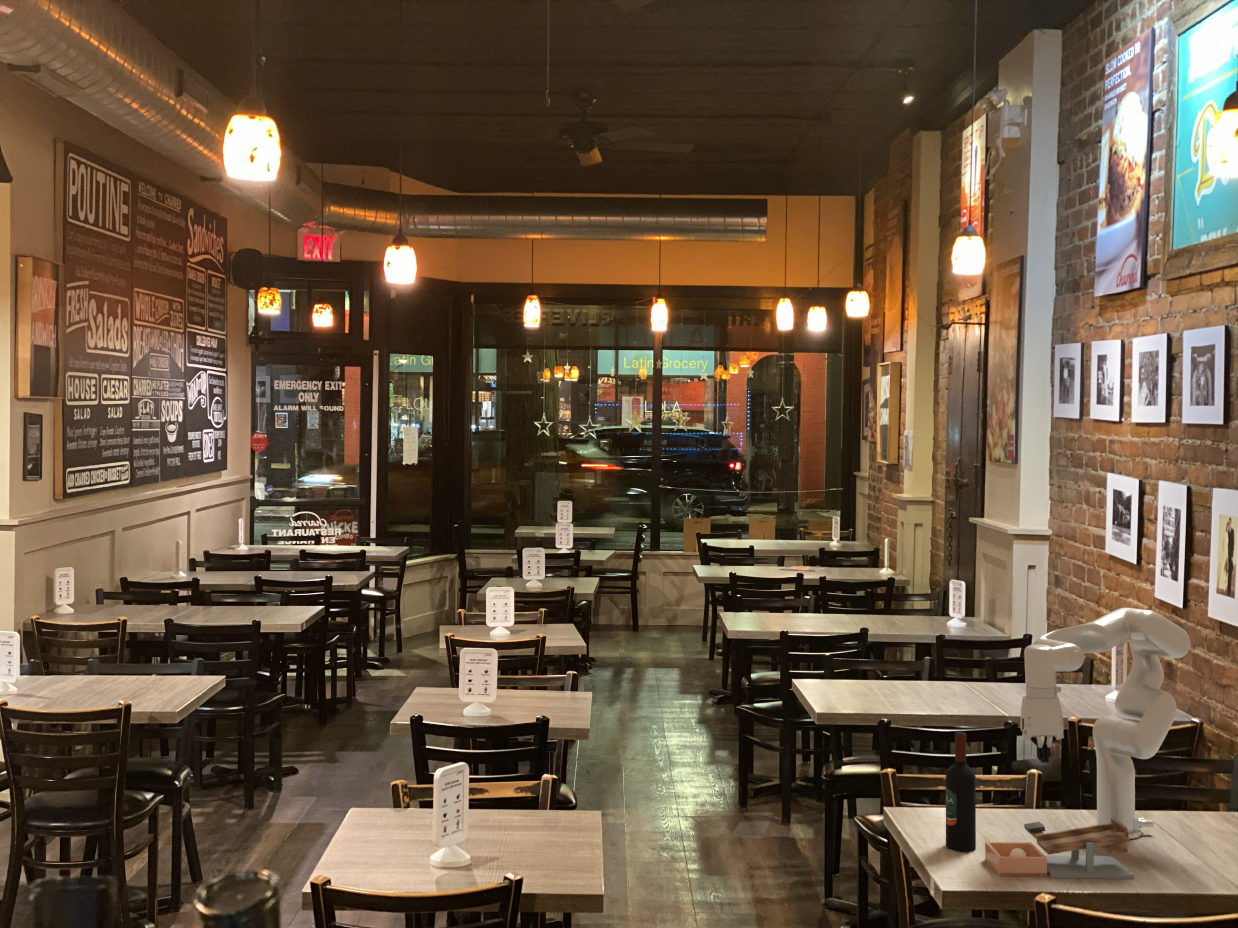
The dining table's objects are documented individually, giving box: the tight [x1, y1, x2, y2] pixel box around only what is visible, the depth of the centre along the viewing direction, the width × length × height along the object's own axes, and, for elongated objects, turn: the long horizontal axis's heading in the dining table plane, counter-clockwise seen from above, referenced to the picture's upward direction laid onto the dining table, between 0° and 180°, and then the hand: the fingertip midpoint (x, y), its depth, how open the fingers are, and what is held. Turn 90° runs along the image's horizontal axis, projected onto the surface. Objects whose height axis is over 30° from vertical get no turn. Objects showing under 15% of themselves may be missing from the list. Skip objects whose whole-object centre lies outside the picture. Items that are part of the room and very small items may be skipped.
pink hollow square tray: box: [984, 841, 1048, 878], centre depth 279 cm, size 12×12×4 cm
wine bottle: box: [945, 731, 977, 853], centre depth 294 cm, size 8×8×30 cm
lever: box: [1023, 818, 1130, 856], centre depth 283 cm, size 20×17×6 cm
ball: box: [1010, 848, 1027, 857], centre depth 279 cm, size 4×4×4 cm
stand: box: [1043, 842, 1135, 880], centre depth 278 cm, size 20×13×8 cm, turn 88°
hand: (1043, 761), depth 295 cm, fingers closed
